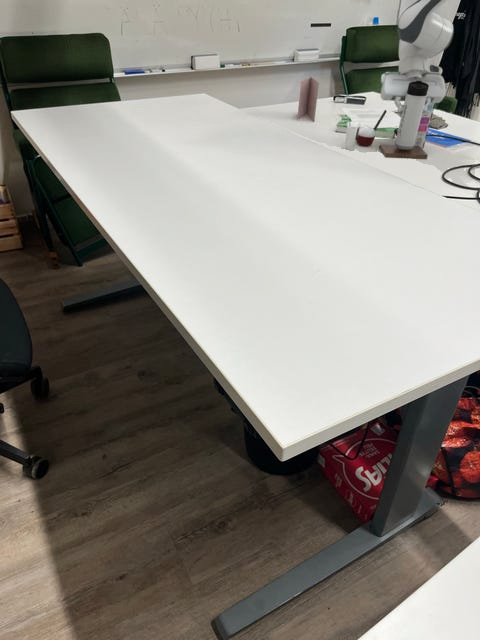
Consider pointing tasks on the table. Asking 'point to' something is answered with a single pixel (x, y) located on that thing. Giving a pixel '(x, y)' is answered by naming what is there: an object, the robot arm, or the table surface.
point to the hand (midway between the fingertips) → (412, 112)
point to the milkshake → (352, 135)
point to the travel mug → (411, 115)
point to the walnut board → (402, 152)
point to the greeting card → (308, 98)
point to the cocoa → (368, 133)
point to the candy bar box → (424, 126)
